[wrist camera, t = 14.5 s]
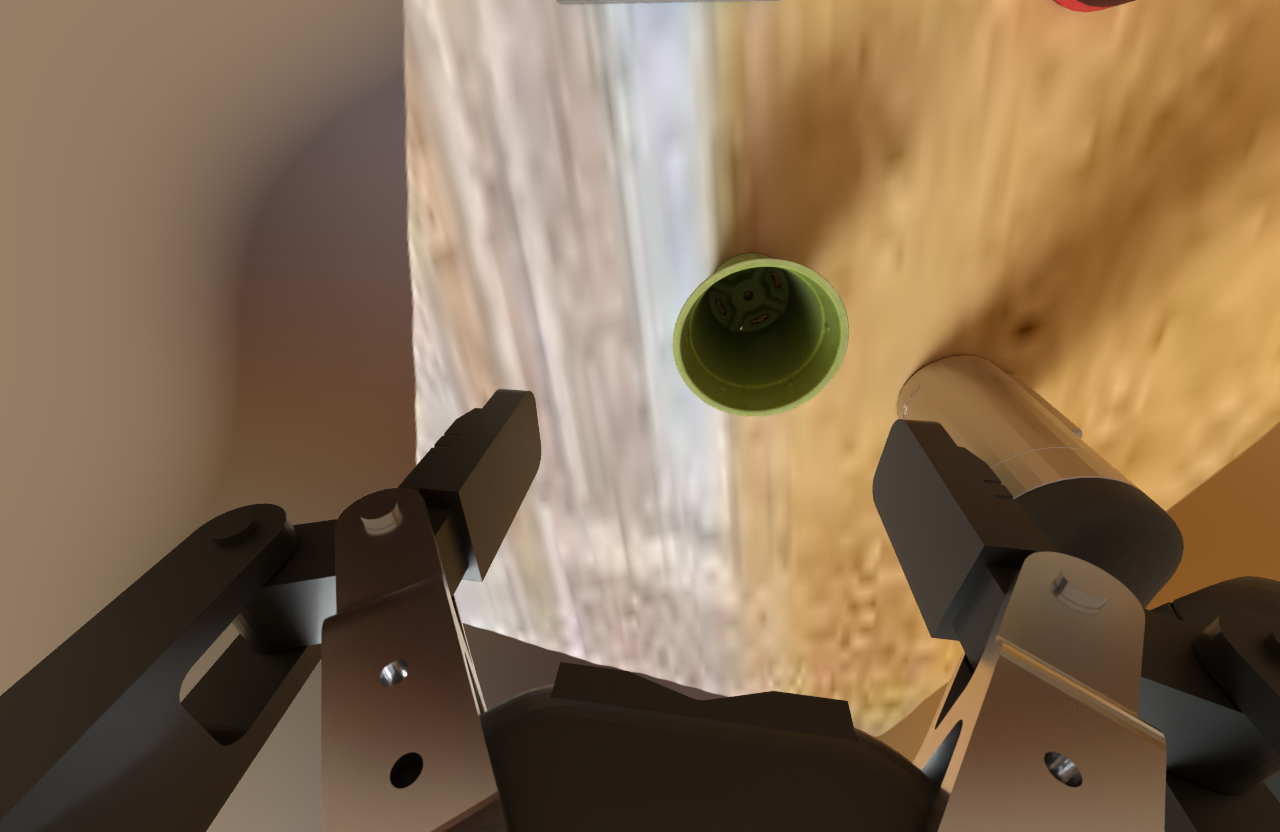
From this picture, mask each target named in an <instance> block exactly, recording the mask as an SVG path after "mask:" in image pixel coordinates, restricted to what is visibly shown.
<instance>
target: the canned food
mask: <svg viewBox="0 0 1280 832" xmlns="http://www.w3.org/2000/svg"><path fill="white" fill-rule="evenodd" d="M1053 1H1055V2H1056V3H1057V4H1059V5H1061V6H1063V7H1066V8H1068V9H1071V10H1073V11H1081V12H1090V11H1098V10H1103V9H1106V8H1110V7H1113V6H1117V5H1120V4H1124V3H1128V2H1131V1H1135V0H1053Z"/></svg>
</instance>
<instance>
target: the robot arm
mask: <svg viewBox="0 0 1280 832" xmlns="http://www.w3.org/2000/svg"><path fill="white" fill-rule="evenodd" d="M897 414H898V416H899V419H898V420H896V421H895V422H894V424H893V425H892V427H891V430H890V433H889V436H888V438H887V441H886V444H885V447H884V450H883V452H882V455H881V458H880V461H879V464H878V467H877V469H876V472H875V475H874V479H873V499H874V503H875V506H876V508H877V510H878V513H879V515H880V517H881V520H882V522H883V524H884V527H885V529H886V532H887V534H888V536H889V539H890V541H891V543H892V546H893V548H894V550H895V553H896V555H897V557H898V560H899V562H900V565H901V567H902V569H903V572H904V574H905V576H906V579H907V581H908V583H909V586H910V588H911V590H912V593H913V595H914V598H915V600H916V602H917V605H918V607H919V609H920V612H921V614H922V616H923V619H924V621H925V623H926V626H927V628H928V631H929V633H930V635H931V637H932V638H940V639H949V640H957V641H960V643H961V645H962V647H963V649H964V651H965V652H964V653H963V655H962V656H961V658H960V659H959V661H958V663H957V665H956V667H955V670H954V672H953V674H952V677H951V679H950V682H949V684H948V686H947V689H946V691H945V694H944V696H943V698H942V701H941V703H940V705H939V707H938V710H937V712H936V715H935V718H934V719H933V722H932V724H931V727H930V729H929V731H928V733H927V736H926V738H925V740H924V743H923V745H922V747H921V749H920V750H919V753H918V754H917V756H916V758H915V760H914V762H913V763H911V762H910V761H909V760H908V759H907V758H905V757H904V756H903V755H901V754H900V753H899V752H897V751H895V750H894V749H893V748H891V747H890V746H888V745H886V744H885V743H883V742H882V741H880V740H878V739H876V738H875V737H873V736H871V735H869V734H867V733H865V732H863V731H861V730H859V729H856V728H854V727H853V722H852V718H851V714H850V709H849V705H848V701H843V700H836V699H829V698H821V697H814V696H806V695H799V694H792V693H784V692H777V691H770V692H763V693H756V694H748V695H741V696H734V697H726V698H719V699H712V700H696V699H693V698H690V697H688V696H685V695H683V694H681V693H678V692H676V691H673V690H671V689H669V688H666V687H664V686H661V685H659V684H657V683H654V682H652V681H649V680H647V679H645V678H642V677H640V676H638V675H635V674H633V673H631V672H628V671H622V670H615V669H607V668H600V667H593V666H585V665H577V664H570V663H563V662H561V663H560V666H559V669H558V673H557V676H556V680H555V684H553V685H547V686H542V687H538V688H535V689H531V690H527V691H525V692H522V693H520V694H517V695H515V696H513V697H510V698H509V699H507V700H505V701H503V702H501V703H499V704H497V705H495V706H494V707H492V708H491V709H490V710H488V711H487V709H486V706H485V702H484V699H483V696H482V693H481V689H480V686H479V682H478V679H477V675H476V671H475V668H474V664H473V661H472V657H471V654H470V650H469V646H468V642H467V639H466V635H465V632H464V628H463V624H462V621H461V617H460V613H459V610H458V606H457V602H456V599H455V596H454V593H455V591H456V589H457V587H458V585H459V583H460V582H461V580H469V581H477V582H482V581H483V579H484V577H485V575H486V573H487V571H488V569H489V567H490V565H491V563H492V561H493V559H494V557H495V555H496V553H497V551H498V549H499V547H500V545H501V543H502V541H503V539H504V537H505V535H506V533H507V531H508V529H509V527H510V525H511V523H512V521H513V519H514V517H515V515H516V513H517V511H518V509H519V507H520V505H521V503H522V501H523V499H524V497H525V495H526V493H527V491H528V489H529V487H530V485H531V483H532V481H533V479H534V477H535V475H536V473H537V471H538V469H539V465H540V460H541V441H540V433H539V426H538V418H537V410H536V403H535V398H534V395H533V393H532V392H531V391H521V390H507V389H498V390H497V391H496V392H495V393H494V394H493V396H492V397H491V398H490V399H489V401H488V402H487V403H486V404H485V406H484V407H483V408H482V409H481V408H474V409H473V410H471V411H469V412H468V413H466V414H464V415H463V416H461V417H459V418H458V419H456V420H455V421H454V423H453V424H452V425H451V426H450V427H449V428H448V430H447V431H446V432H445V433H444V436H442V437H441V438H440V439H439V440H438V441H437V442H436V444H435V447H434V448H431V449H430V451H429V452H428V453H427V454H426V455H425V456H424V457H423V459H422V460H421V461H420V462H419V463H418V464H417V466H416V467H415V468H414V469H413V470H412V472H411V473H410V474H409V475H408V476H407V477H406V478H405V480H404V481H403V482H402V483H401V484H400V486H399V487H398V488H389V489H383V490H379V491H376V492H373V493H370V494H368V495H366V496H363V497H361V498H360V499H358V500H356V501H355V502H353V503H352V504H350V505H349V506H348V507H347V508H346V509H345V510H344V511H343V512H342V513H341V514H340V515H339V517H338V519H335V520H328V521H321V522H313V523H307V524H299V525H292V524H291V521H290V520H289V518H288V516H287V514H286V512H285V511H284V510H283V509H282V508H281V507H279V506H277V505H273V504H254V505H248V506H244V507H240V508H237V509H234V510H231V511H228V512H226V513H224V514H222V515H219V516H217V517H215V518H214V519H212V520H210V521H209V522H207V523H205V524H204V525H202V526H201V527H200V528H198V529H197V530H196V531H195V532H193V533H192V534H191V535H190V536H189V537H187V538H186V539H185V540H184V541H183V542H182V543H180V544H179V545H178V546H177V547H176V548H175V549H173V550H172V551H171V552H170V553H168V554H167V555H166V556H165V557H164V558H163V559H161V560H160V561H159V562H158V563H157V564H156V565H154V566H153V567H152V568H151V569H150V570H148V571H147V572H146V573H145V574H144V575H143V576H141V577H140V578H139V579H138V580H137V581H135V582H134V583H133V584H132V585H131V586H130V587H128V588H127V589H126V590H125V591H124V592H122V593H121V594H120V595H119V596H118V597H117V598H115V599H114V600H113V601H112V602H111V603H109V604H108V605H107V606H106V607H105V608H104V609H102V610H101V611H100V612H99V613H98V614H97V615H96V616H94V617H93V618H92V619H91V620H89V621H88V622H87V623H86V624H85V625H84V626H82V627H81V628H80V629H79V630H78V631H77V632H75V633H74V634H73V635H72V636H71V637H69V638H68V639H67V640H66V641H65V642H63V643H62V644H61V645H60V646H59V647H58V648H57V649H55V650H54V651H53V652H52V653H51V654H50V655H48V656H47V657H46V658H45V659H43V660H42V661H41V662H40V663H39V664H38V665H36V667H34V668H33V669H32V670H30V671H29V672H28V673H27V674H26V675H25V676H23V677H22V678H21V679H20V680H19V681H18V682H16V683H15V684H14V685H13V686H12V687H11V688H9V689H8V690H7V691H6V692H4V693H3V694H2V695H1V696H0V832H206V831H207V829H208V828H209V826H210V825H211V823H212V821H213V820H214V819H215V817H216V816H217V814H218V812H219V811H220V809H221V808H222V807H223V805H224V804H225V802H226V800H227V799H228V798H229V796H230V794H231V793H232V792H233V790H234V789H235V787H236V785H237V784H238V782H239V781H240V779H241V778H242V776H243V775H244V773H245V772H246V770H247V769H248V767H249V766H250V764H251V763H252V761H253V760H254V758H255V757H256V755H257V754H258V752H259V751H260V749H261V748H262V746H263V745H264V743H265V742H266V740H267V739H268V737H269V736H270V734H271V733H272V731H273V730H274V728H275V727H276V725H277V724H278V722H279V721H280V719H281V718H282V716H283V715H284V713H285V712H286V710H287V709H288V707H289V706H290V704H291V703H292V701H293V700H294V698H295V697H296V695H297V694H298V692H299V691H300V689H301V688H302V686H303V685H304V683H305V682H306V680H307V679H308V677H309V676H310V674H311V673H312V671H313V670H314V668H315V667H316V665H317V664H318V662H319V661H320V659H321V832H1280V582H1279V581H1275V580H1272V579H1267V578H1261V577H1251V576H1247V577H1239V578H1235V579H1231V580H1227V581H1223V582H1220V583H1218V584H1214V585H1211V586H1209V587H1206V588H1204V589H1201V590H1198V591H1196V592H1193V593H1191V594H1188V595H1186V596H1184V597H1181V598H1179V599H1176V600H1174V601H1173V603H1170V602H1169V603H1166V604H1164V605H1161V606H1160V607H1157V608H1155V609H1152V610H1146V609H1145V608H1146V607H1147V605H1148V604H1149V603H1150V602H1151V600H1152V599H1153V598H1154V597H1155V596H1156V594H1157V593H1158V592H1159V591H1160V590H1161V589H1162V588H1163V586H1164V585H1165V584H1166V583H1167V582H1168V581H1169V580H1170V578H1171V577H1172V576H1173V574H1174V573H1175V571H1176V570H1177V568H1178V566H1179V564H1180V562H1181V559H1182V555H1183V549H1184V546H1183V538H1182V534H1181V532H1180V530H1179V529H1178V527H1177V525H1176V523H1175V522H1174V520H1173V519H1172V518H1171V517H1170V516H1169V515H1168V514H1167V513H1166V512H1165V511H1164V510H1163V509H1162V508H1161V507H1160V506H1159V505H1158V504H1156V503H1155V502H1154V501H1153V500H1152V499H1150V498H1149V497H1148V496H1147V495H1146V494H1145V493H1143V492H1142V491H1141V490H1140V489H1139V488H1138V487H1136V486H1135V485H1134V484H1133V483H1132V482H1131V481H1129V480H1128V479H1127V478H1126V477H1125V476H1124V475H1122V474H1121V473H1120V472H1119V471H1118V470H1117V469H1115V468H1114V467H1113V466H1112V465H1111V464H1110V463H1109V462H1107V461H1106V460H1105V459H1104V458H1102V457H1101V456H1100V455H1099V454H1098V453H1097V452H1095V451H1094V450H1093V449H1092V448H1091V447H1090V446H1088V445H1087V444H1086V443H1085V442H1084V441H1083V440H1082V439H1081V437H1082V431H1081V430H1080V428H1078V427H1077V426H1076V425H1075V424H1074V423H1072V422H1071V421H1070V420H1069V419H1068V418H1066V417H1065V416H1064V415H1063V414H1062V413H1060V412H1059V411H1058V410H1057V409H1056V408H1054V407H1053V406H1052V405H1051V404H1050V403H1048V402H1047V401H1046V400H1045V399H1044V398H1043V397H1041V396H1040V395H1039V394H1038V393H1037V392H1035V391H1034V390H1033V389H1032V388H1031V387H1029V386H1028V385H1027V384H1026V383H1025V382H1023V381H1022V380H1021V379H1020V378H1019V377H1017V376H1016V375H1015V374H1013V373H1005V372H1003V371H1002V370H1001V369H999V368H998V367H997V366H996V365H995V364H994V363H992V362H990V361H988V360H986V359H984V358H980V357H977V356H968V355H960V356H951V357H947V358H944V359H940V360H938V361H935V362H933V363H931V364H929V365H927V366H925V367H924V368H922V369H921V370H919V371H918V372H917V373H916V374H914V375H913V376H912V377H911V378H910V379H909V380H908V382H907V383H906V384H905V386H904V387H903V389H902V391H901V393H900V395H899V398H898V402H897ZM231 622H232V623H233V624H234V626H235V627H236V629H237V630H238V631H239V633H240V634H239V635H238V636H237V638H236V639H235V640H234V641H233V642H232V644H231V645H230V646H229V647H228V648H227V649H226V651H225V652H224V653H223V654H222V655H221V656H220V658H219V659H218V660H217V661H216V662H215V663H214V665H213V666H212V667H211V668H210V669H209V671H208V672H207V673H206V674H205V675H204V676H203V677H202V679H201V680H200V681H199V682H198V683H197V685H196V686H195V687H194V688H193V689H192V690H191V691H190V693H189V694H188V695H187V696H186V697H185V698H184V700H183V701H182V702H181V703H180V699H179V694H180V688H181V685H182V682H183V680H184V678H185V676H186V674H187V673H188V671H189V670H190V669H191V667H192V666H193V665H194V664H195V663H196V662H197V660H198V659H199V658H200V657H201V656H202V655H203V654H204V653H205V651H206V650H207V649H208V648H209V647H210V646H211V645H212V644H213V643H214V641H215V640H216V639H217V638H218V637H219V636H220V635H221V634H222V632H223V631H224V630H225V629H226V628H227V627H228V626H229V624H230V623H231Z"/></svg>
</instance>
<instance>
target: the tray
mask: <svg viewBox="0 0 1280 832" xmlns="http://www.w3.org/2000/svg"><path fill="white" fill-rule="evenodd" d="M720 1H776V0H557V2H558V3H560V4H609V3H665V2H720Z"/></svg>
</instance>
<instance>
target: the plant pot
mask: <svg viewBox="0 0 1280 832" xmlns="http://www.w3.org/2000/svg"><path fill="white" fill-rule="evenodd" d="M773 272H776V274H777V275H778V278H779V280H780V283H781V287H780V288H777V287H776V285H775V282H774V279H773V277H772V276H771V275H770V274H771V273H773ZM746 292H751V293H752V294H753V297H752V298H751V299H750V300H746V299H745V298H744V295H745V293H746ZM781 298H782V299H781ZM718 301H720V302H721V305H722V306H723V309H724V310H725V311H726V314H725V315H723V314H722V312H721V311H720V309H719V308H718V305H717V302H718ZM765 314H766V315H767V319H766V320H764V321H762V322H760V323H757V324H752V320H754V319H757V318H759V317H761V316H763V315H765ZM724 316H725V317H724ZM744 320H745V321H744ZM743 322H744V325H743V328H742V330H740V328H741V326H742V324H743ZM848 336H849V324H848V317H847V313H846V310H845V307H844V304H843V302H842V300H841V298H840V296H839V295H838V293H837V291H836V290H835V289H834V288H833V286H832V285H831V284H830V283H829V282H828V281H827V280H826V279H825V278H824V277H823V276H821V275H820V274H819V273H817V272H816V271H814V270H812V269H811V268H809V267H807V266H804V265H802V264H799V263H796V262H793V261H789V260H784V259H776V258H771V257H769V256H766V255H763V254H758V253H747V254H742V255H738V256H735V257H733V258H731V259H729V260H727V261H726V262H725V263H723V264H722V265H721V266H720V267H719V268H718V269H717V270H716V272H715V273H714V274H713V275H712V276H710V277H709V278H708V279H706V280H705V281H704V282H703V283H701V284H700V285H699V286H698V287H697V288H696V289H695V291H694V292H693V293H692V294H691V295H690V297H689V298H688V299H687V301H686V302H685V304H684V306H683V308H682V309H681V312H680V314H679V316H678V319H677V322H676V325H675V330H674V336H673V353H674V359H675V362H676V366H677V368H678V371H679V373H680V375H681V377H682V379H683V380H684V382H685V383H686V385H687V386H688V387H689V389H690V390H691V391H692V392H693V393H694V394H696V395H697V396H698V397H699V398H700V399H701V400H703V401H704V402H705V403H707V404H709V405H710V406H712V407H714V408H716V409H719V410H721V411H724V412H727V413H730V414H734V415H740V416H750V417H759V416H769V415H774V414H778V413H782V412H785V411H789V410H791V409H794V408H796V407H798V406H800V405H802V404H804V403H805V402H807V401H809V400H810V399H811V398H813V397H814V396H816V395H817V394H818V393H819V392H820V391H821V390H822V389H823V388H824V387H825V386H826V385H827V384H828V383H829V382H830V381H831V380H832V378H833V377H834V375H835V374H836V372H837V371H838V369H839V367H840V365H841V363H842V361H843V358H844V356H845V353H846V350H847V345H848Z"/></svg>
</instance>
